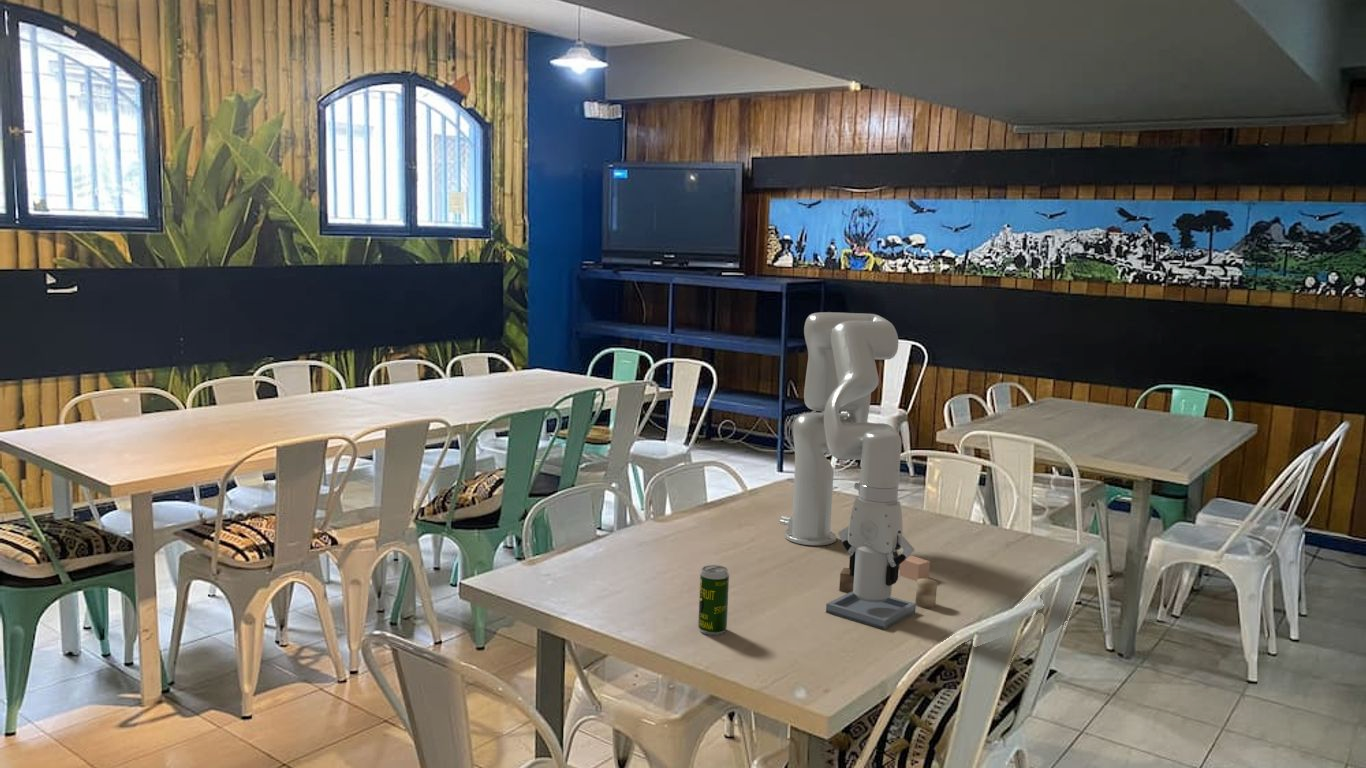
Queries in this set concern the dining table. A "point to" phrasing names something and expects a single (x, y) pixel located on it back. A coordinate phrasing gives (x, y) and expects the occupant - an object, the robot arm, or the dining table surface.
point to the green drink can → (713, 600)
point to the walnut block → (846, 581)
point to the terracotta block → (914, 568)
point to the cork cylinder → (926, 593)
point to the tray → (871, 610)
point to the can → (870, 574)
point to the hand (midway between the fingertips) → (872, 578)
